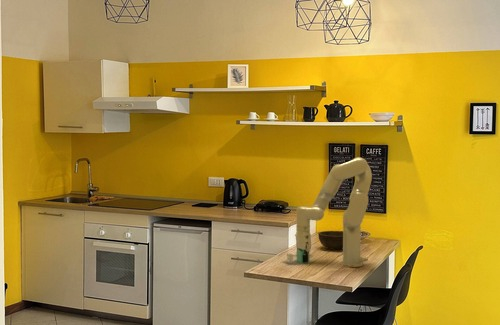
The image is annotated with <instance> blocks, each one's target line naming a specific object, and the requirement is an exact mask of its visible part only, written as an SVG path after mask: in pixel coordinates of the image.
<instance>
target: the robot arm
mask: <svg viewBox="0 0 500 325" xmlns="http://www.w3.org/2000/svg"><path fill="white" fill-rule="evenodd" d="M353 177H355V181H354V185H353V187H352V190H351V193H350V195H349V203H348V207H347V209H346V210H345V211H344V212H343V214H342V231H343V249H342V261H340V264H341V265H345V266H349V267H352V268H360V267H363V266H364V263H363V262H368V261H369V258H368V257H363V256H361V236H362V235H361V231H362V230H361V225H362V223H363V219H364V217H365V216H366V215H365V214H366V212H367V209H368V204H369V196H368V195H369V191H370V187H371V185H372V179H373V174H372V169H371V167H370V165H369V164H368V162H367V160H366V159H365V158H364V157H359V156H357V157H354V158H353V159H352V160H349V161H347V162H344V163H341V164H335V165H333V167H331V170H330V172H329V173H328V175H327V176H326V179H325V181H324V183H323V184H322V186H321V189H319V193H318V194H317V196H316V198H315V200H314V202H313V204H312V205H311V207H309V206H306V205H305V206H304V205H303V206H302V205H301V206H297V207H296V220H295V221H296V222H295V223H296V224H295V225H296V232H297V235H296V236H295V242H296V243H295V245H296V251H297V250H300V249H302V250H303V262H308V255H309V256H310V251H311V249H312V240H311V237H312V235H311V236H310V234H311V221H317V222H318V221H321V220H322V219H324V216H325V211H326V209H327V207H328V205H329V203H330V202H331V200H332V199H333V198H334V197H335V196H336V194H337V192H338V191H339V189H340V187H341V185H342V183H343V181H344V180H347V179H350V178H353ZM305 248H306V249H305Z"/></svg>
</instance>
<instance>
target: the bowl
mask: <svg viewBox="0 0 500 325" xmlns="http://www.w3.org/2000/svg"><path fill="white" fill-rule="evenodd" d="M317 234H318V240H319V242H320V243H321V245H322V246H323V247H325V248H326V249H328V250H329V249H330V250H332V249H333V251H338V250H343V230H326V231H319V232H318V233H317Z"/></svg>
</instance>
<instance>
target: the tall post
mask: <svg viewBox="0 0 500 325" xmlns="http://www.w3.org/2000/svg"><path fill="white" fill-rule="evenodd" d="M286 261H287V263H288V264H292V263H293V261H294V254H293V253H287V254H286Z"/></svg>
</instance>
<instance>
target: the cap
mask: <svg viewBox="0 0 500 325" xmlns="http://www.w3.org/2000/svg"><path fill="white" fill-rule="evenodd" d="M296 260H297V262H299V263H309V262H310V254H309V255H308V262H303V250H302V249H300V250H297V249H296Z"/></svg>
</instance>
